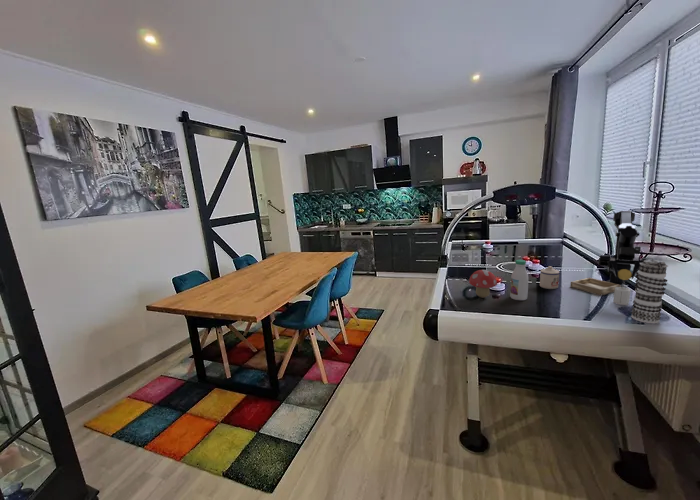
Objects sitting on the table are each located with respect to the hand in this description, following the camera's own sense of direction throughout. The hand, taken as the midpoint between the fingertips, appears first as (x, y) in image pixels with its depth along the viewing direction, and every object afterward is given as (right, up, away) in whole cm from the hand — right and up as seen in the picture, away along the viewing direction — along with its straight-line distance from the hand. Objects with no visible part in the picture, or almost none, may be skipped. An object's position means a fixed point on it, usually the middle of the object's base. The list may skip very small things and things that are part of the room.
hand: (624, 277), depth 135 cm
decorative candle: (-3, -16, -12) cm, 21 cm away
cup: (+2, -12, +4) cm, 13 cm away
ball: (+1, +1, +1) cm, 2 cm away
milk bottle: (-39, -12, +17) cm, 44 cm away
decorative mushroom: (-56, -13, +21) cm, 61 cm away
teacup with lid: (-13, -8, +31) cm, 35 cm away
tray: (+5, -8, +23) cm, 25 cm away
